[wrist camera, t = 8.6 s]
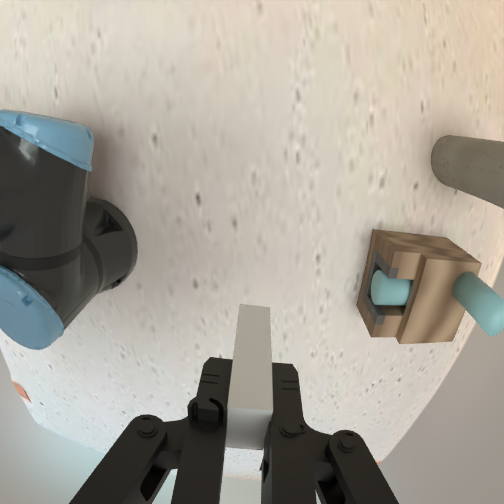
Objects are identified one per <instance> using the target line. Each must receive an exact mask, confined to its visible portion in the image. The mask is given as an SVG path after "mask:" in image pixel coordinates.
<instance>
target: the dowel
mask: <svg viewBox="0 0 504 504" xmlns="http://www.w3.org/2000/svg"><path fill="white" fill-rule="evenodd" d="M452 292H453V296H454V298H455V299H456V300H457V301H458V302H459V303H460V304H461V305H462V306H463V307H464V308H465V309H466V311H467V312H468V313H469V314H470V315H471V316H472V317H473V318H474V319H475V321H476V322H477V323H478V324H479V325H480V326H481V327H482V328H483V329H484V331H485V332H486V333H487V334H488V335H489V336H494V335H497V334H498V333H500V332H501V331H502V330H503V329H504V299H502V298H501V297H500V296H499V295H498V294H497V293H496V292H495V291H494V290H492V289H491V288H490V287H489V286H488V285H487V284H486V283H484V282H483V281H482V280H481V279H480V278H479V277H477V276H476V275H475V274H474V273H473V272H470V271H468V272H464V273H463V274H461V275H460V276H459V277H458V278H457V279H456V281H455V283H454V285H453V290H452Z"/></svg>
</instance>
